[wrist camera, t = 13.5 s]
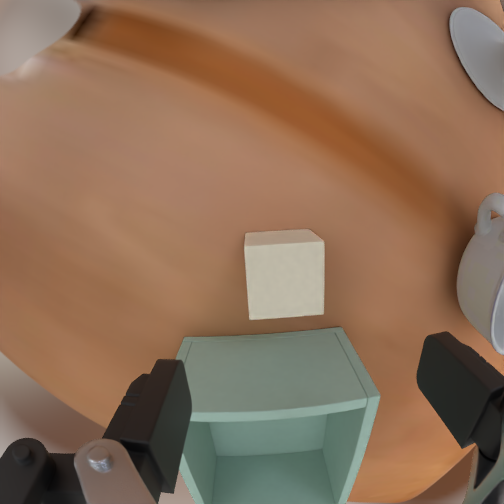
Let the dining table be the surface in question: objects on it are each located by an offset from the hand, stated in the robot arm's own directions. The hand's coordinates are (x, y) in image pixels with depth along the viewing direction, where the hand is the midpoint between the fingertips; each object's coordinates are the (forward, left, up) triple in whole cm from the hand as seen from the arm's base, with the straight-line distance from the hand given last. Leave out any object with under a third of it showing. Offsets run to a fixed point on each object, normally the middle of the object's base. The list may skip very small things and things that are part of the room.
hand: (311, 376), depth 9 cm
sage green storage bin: (+8, +11, -13) cm, 19 cm away
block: (0, 0, -13) cm, 13 cm away
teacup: (-16, +10, -13) cm, 23 cm away
